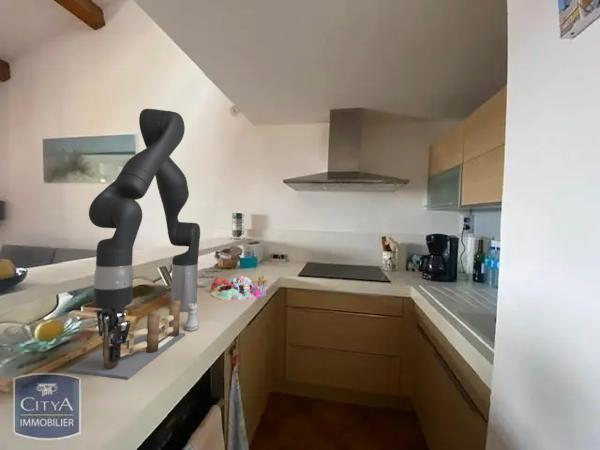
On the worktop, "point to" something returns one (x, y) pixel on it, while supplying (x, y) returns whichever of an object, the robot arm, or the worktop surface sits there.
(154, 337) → the fixed fence section
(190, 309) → the rook chess piece
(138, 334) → the swinging fence panel
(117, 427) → the worktop surface
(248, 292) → the candy landscape model
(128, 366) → the board
